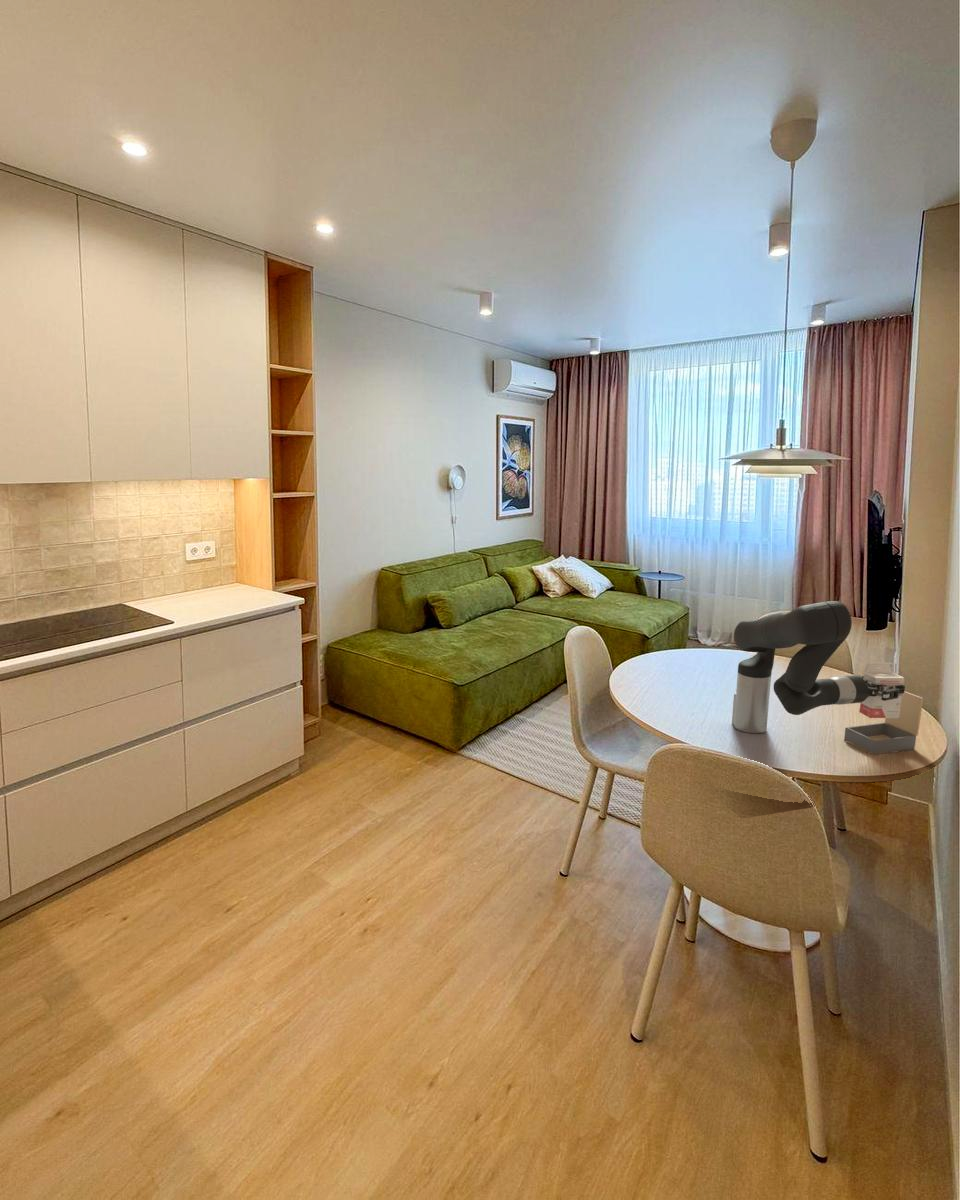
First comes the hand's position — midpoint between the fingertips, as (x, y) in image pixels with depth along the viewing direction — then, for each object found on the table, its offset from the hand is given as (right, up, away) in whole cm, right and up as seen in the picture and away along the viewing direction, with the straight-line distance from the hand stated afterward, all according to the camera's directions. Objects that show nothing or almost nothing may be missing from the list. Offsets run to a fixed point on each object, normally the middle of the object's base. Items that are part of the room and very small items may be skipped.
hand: (893, 685), depth 174 cm
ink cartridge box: (-3, -9, +1) cm, 9 cm away
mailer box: (-2, -17, +3) cm, 18 cm away
